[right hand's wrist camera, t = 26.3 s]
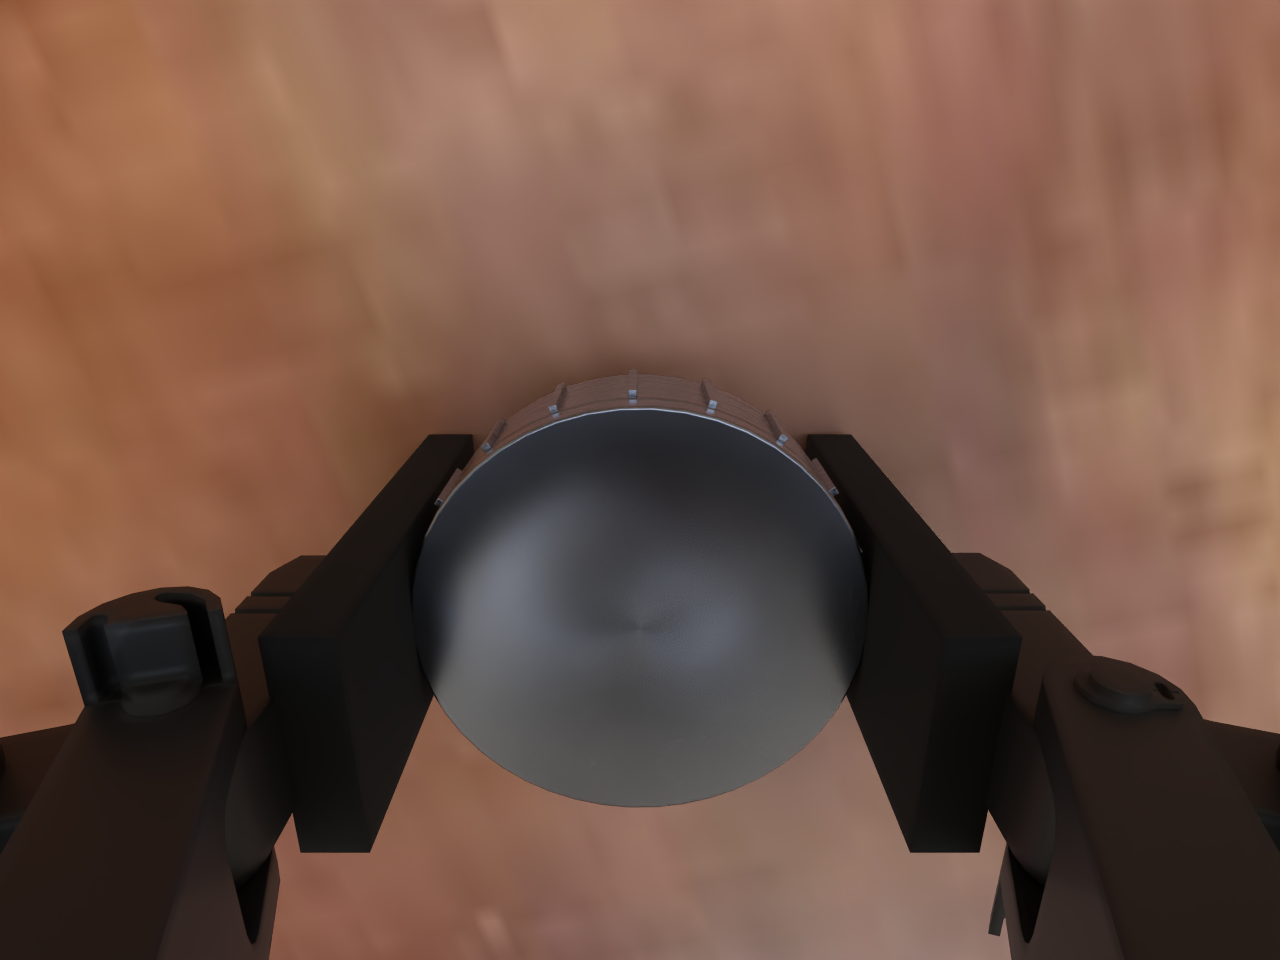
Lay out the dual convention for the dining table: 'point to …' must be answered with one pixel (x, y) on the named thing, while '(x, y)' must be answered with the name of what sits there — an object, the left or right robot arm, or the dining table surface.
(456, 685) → the lid
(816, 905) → the dining table surface
